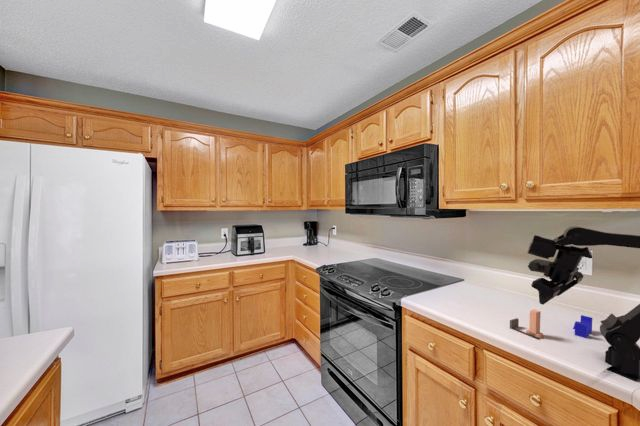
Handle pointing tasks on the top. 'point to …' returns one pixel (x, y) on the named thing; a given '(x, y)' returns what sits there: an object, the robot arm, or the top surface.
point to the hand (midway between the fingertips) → (548, 299)
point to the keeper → (535, 324)
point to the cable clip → (583, 327)
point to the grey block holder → (514, 325)
